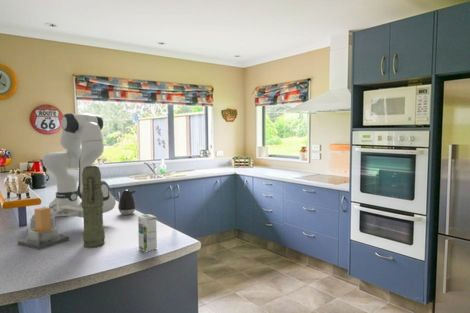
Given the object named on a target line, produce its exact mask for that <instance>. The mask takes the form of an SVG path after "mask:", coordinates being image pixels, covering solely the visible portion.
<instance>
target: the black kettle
mask: <svg viewBox="0 0 470 313" xmlns="http://www.w3.org/2000/svg"><path fill="white" fill-rule="evenodd" d="M134 193H136V190H132V191H131V190H130V189H124V190H122V191H121V193H120V197H119V200H118V205H117V206H118V211H119V213H120V214H121V215H122V216H130V215H132V214H134V212H135V211H136V208H137V206H136V205H137V204H136V200H135V197H134V195H133V194H134ZM129 214H130V215H129Z"/></svg>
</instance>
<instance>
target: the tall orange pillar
mask: <svg viewBox="0 0 470 313" xmlns="http://www.w3.org/2000/svg"><path fill="white" fill-rule="evenodd" d="M34 214H35V229H36V232H44V231H47V230H51V214H50V208H49V207H45V206H43V207H38V208H34Z"/></svg>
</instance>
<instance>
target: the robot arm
mask: <svg viewBox="0 0 470 313" xmlns="http://www.w3.org/2000/svg"><path fill="white" fill-rule="evenodd" d="M60 123H61V124H60V125H61V128H62V132H61V135H60V139H59V140H60V141H59V142H60V146H61V147H62V148H64V149H65V150H66V151H64V150H63V151H53V152H52V151H51V152H48V153H45V155H43V157H42V160H41V162H42V165H43V167H44V168H45V169H46V170H48V171H49V172H50V173H52V175H53V176H54V178H55V182H56V189H57V191H56V192H55V193H54V194H55V198H54V199H53V200H52V201H51V202H50V203H49V205H48V208H50V213H53V214H54V215H55V218H57V217H58V218H59V217H68V218H74V217H78V218H82V219H84V217H83V208H82V201H81V200H82V198H81V194H82V191H83V185H82V172H83V169H84V167H86V166H93V165H94V163H95V161H97V160H98V159H99V158H100V157H101V156H102V154H103V153H104V139H103V134H102V130H103V127H104V120H103V118H102V116H101V115H99V114H95V113H93V114H91V113H84V112H82V113H69V112H68V113H65V114H63V116H62V117H61V122H60ZM70 169H71V170H72V169H78V176H79V177H78V180H77V177H76V176H74V175H72V174H70V173H68V170H70ZM101 189H102V192H103V207H102V210H103V214H105V213H107V212H110V211H112V210H113V209H114V208H115V206H116V203H117V202H116V198H115V197H114V196H113V195H112V194H111V191H110V187H109V184H108V183H107V182H106V181H105V180H103V179H101Z"/></svg>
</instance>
